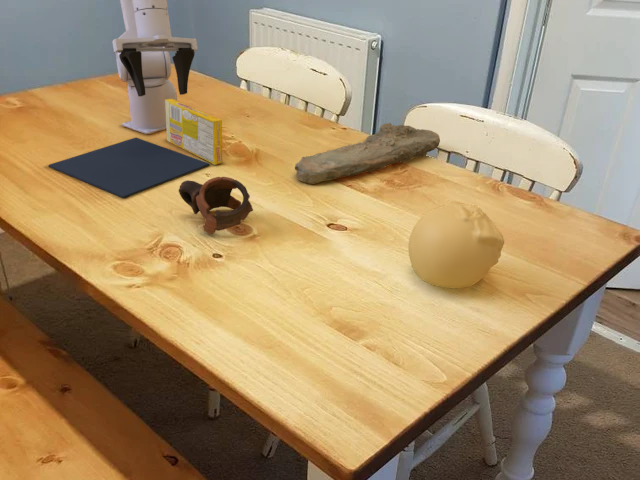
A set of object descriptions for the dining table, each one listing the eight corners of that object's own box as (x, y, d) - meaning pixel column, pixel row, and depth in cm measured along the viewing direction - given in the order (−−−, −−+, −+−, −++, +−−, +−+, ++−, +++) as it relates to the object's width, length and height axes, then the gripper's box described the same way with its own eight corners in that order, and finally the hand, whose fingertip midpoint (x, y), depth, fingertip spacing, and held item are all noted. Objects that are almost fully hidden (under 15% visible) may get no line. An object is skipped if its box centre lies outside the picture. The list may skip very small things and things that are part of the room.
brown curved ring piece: (258, 213, 112) (263, 182, 104) (236, 259, 107) (240, 230, 100) (188, 186, 112) (188, 154, 104) (164, 231, 107) (162, 200, 100)
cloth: (136, 139, 136) (136, 137, 136) (209, 165, 126) (209, 163, 126) (48, 167, 122) (48, 164, 122) (123, 198, 113) (123, 196, 113)
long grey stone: (281, 179, 126) (315, 200, 120) (281, 152, 123) (316, 173, 117) (415, 135, 144) (450, 151, 138) (418, 110, 141) (454, 126, 135)
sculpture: (506, 293, 94) (522, 221, 88) (425, 303, 90) (436, 229, 84) (467, 253, 103) (480, 185, 97) (393, 261, 100) (401, 191, 93)
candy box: (224, 163, 128) (222, 119, 123) (214, 166, 126) (212, 121, 122) (175, 139, 137) (172, 97, 133) (166, 141, 136) (162, 98, 131)
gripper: (115, 6, 112) (129, 93, 115) (199, 7, 119) (209, 90, 122) (104, 15, 117) (117, 98, 121) (184, 17, 125) (195, 95, 128)
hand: (163, 94), depth 122 cm, fingers open, 7 cm apart
